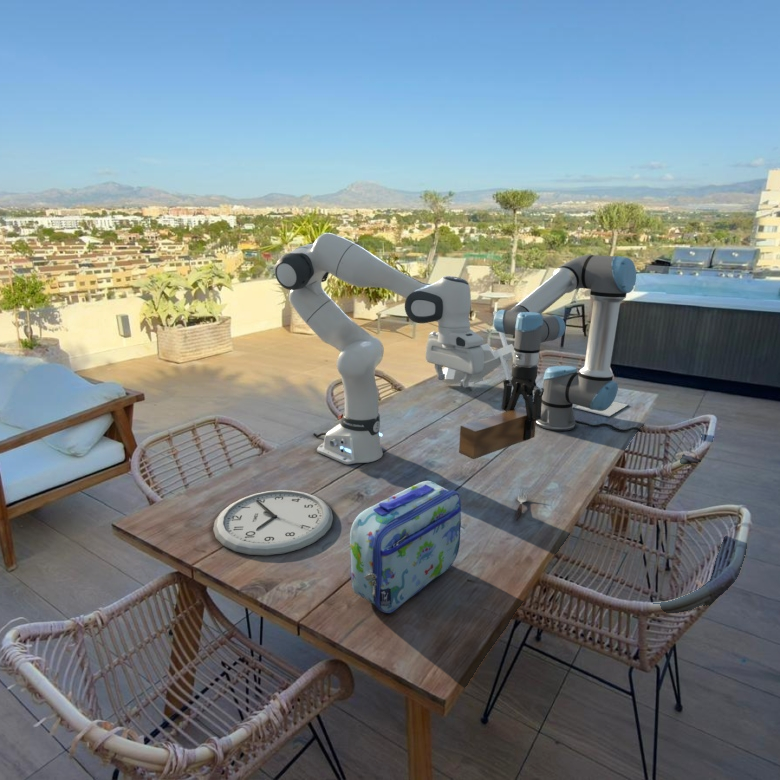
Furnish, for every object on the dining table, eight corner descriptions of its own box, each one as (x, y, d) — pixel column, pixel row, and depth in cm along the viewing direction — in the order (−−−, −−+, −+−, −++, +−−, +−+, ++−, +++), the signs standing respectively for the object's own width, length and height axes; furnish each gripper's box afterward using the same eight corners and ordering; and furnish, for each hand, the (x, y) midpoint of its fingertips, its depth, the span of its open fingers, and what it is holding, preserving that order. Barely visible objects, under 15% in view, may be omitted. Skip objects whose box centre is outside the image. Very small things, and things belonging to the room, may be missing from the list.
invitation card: (608, 416, 214) (573, 407, 224) (608, 416, 214) (573, 408, 224) (628, 404, 229) (594, 396, 238) (628, 405, 229) (594, 397, 238)
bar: (519, 431, 168) (522, 406, 166) (534, 437, 164) (537, 411, 162) (458, 452, 152) (460, 425, 149) (473, 459, 148) (475, 431, 145)
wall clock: (331, 546, 121) (198, 551, 119) (331, 552, 122) (199, 557, 119) (333, 485, 150) (227, 488, 147) (334, 490, 150) (227, 493, 148)
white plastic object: (461, 429, 252) (437, 405, 227) (444, 352, 274) (420, 323, 250) (535, 404, 240) (518, 377, 215) (510, 326, 262) (492, 293, 237)
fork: (511, 521, 136) (512, 514, 136) (519, 493, 150) (519, 487, 150) (521, 523, 135) (522, 516, 135) (528, 495, 150) (528, 489, 149)
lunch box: (379, 627, 99) (381, 531, 93) (343, 599, 107) (342, 508, 100) (464, 568, 117) (470, 484, 111) (428, 548, 124) (431, 467, 118)
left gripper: (420, 331, 153) (420, 377, 157) (472, 342, 137) (470, 393, 141) (436, 329, 156) (435, 373, 160) (488, 339, 141) (486, 388, 145)
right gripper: (492, 360, 161) (487, 429, 168) (543, 373, 147) (535, 448, 154) (508, 356, 166) (502, 424, 173) (559, 369, 152) (551, 443, 159)
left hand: (452, 383), depth 151 cm, fingers open, 8 cm apart
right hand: (518, 436), depth 164 cm, fingers closed on bar, 6 cm apart
